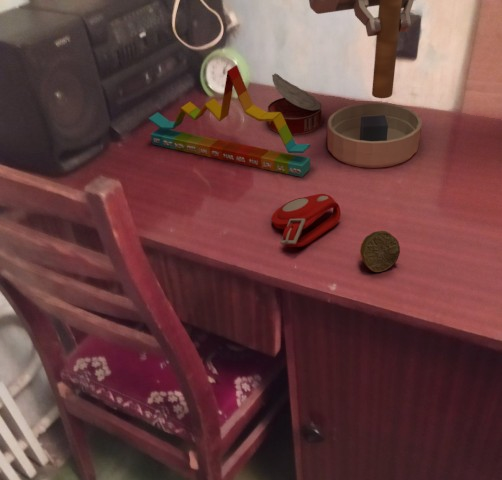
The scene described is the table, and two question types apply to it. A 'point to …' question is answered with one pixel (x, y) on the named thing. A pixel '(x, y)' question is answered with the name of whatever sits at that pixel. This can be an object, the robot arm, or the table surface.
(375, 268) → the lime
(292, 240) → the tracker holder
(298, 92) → the canned food
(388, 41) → the stick
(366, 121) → the block
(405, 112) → the bowl
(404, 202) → the table surface
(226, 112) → the chart
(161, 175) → the table surface
